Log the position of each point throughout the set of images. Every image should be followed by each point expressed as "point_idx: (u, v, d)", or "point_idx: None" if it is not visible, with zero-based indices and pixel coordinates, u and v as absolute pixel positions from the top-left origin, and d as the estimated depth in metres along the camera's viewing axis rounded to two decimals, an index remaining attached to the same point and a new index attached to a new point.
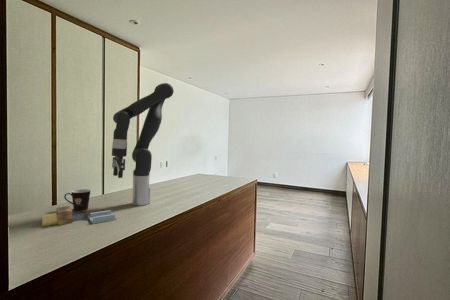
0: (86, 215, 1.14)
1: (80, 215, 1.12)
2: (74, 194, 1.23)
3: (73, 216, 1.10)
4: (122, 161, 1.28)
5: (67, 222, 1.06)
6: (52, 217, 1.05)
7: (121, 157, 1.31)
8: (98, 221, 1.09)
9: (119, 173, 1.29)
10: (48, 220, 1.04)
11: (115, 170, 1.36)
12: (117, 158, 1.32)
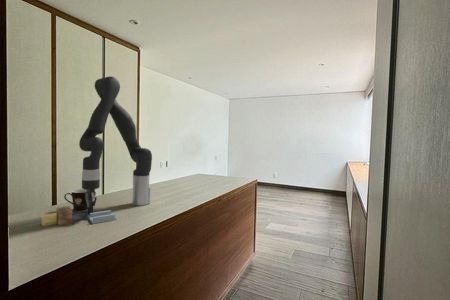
0: (86, 215, 1.14)
1: (80, 215, 1.12)
2: (74, 194, 1.23)
3: (73, 216, 1.10)
4: (92, 200, 1.11)
5: (67, 222, 1.06)
6: (52, 217, 1.05)
7: (93, 190, 1.13)
8: (98, 221, 1.09)
9: (89, 209, 1.15)
10: (48, 220, 1.04)
11: None
12: (88, 191, 1.14)
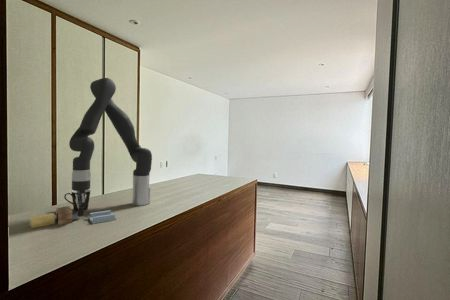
0: (76, 216, 1.12)
1: None
2: (74, 194, 1.23)
3: None
4: (82, 201, 1.09)
5: (67, 222, 1.06)
6: (41, 218, 1.02)
7: (83, 191, 1.10)
8: (98, 221, 1.09)
9: (79, 211, 1.12)
10: (37, 222, 1.01)
11: None
12: (78, 192, 1.11)
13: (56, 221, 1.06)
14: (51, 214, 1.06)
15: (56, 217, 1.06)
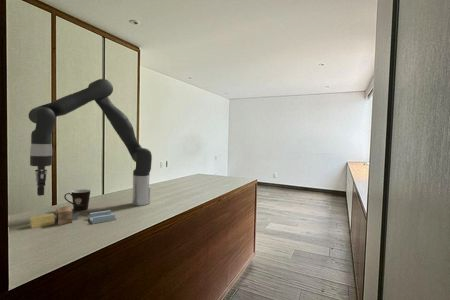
0: (76, 216, 1.12)
1: None
2: (74, 194, 1.23)
3: None
4: (41, 177, 0.98)
5: (67, 222, 1.06)
6: (41, 219, 1.02)
7: (42, 167, 1.00)
8: (98, 221, 1.09)
9: (38, 190, 1.01)
10: (37, 222, 1.01)
11: None
12: (38, 168, 1.01)
13: (56, 221, 1.06)
14: (51, 214, 1.06)
15: (56, 217, 1.06)
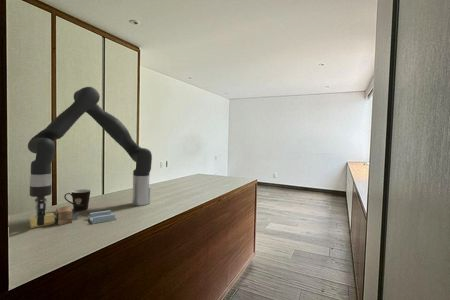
0: (75, 216, 1.12)
1: None
2: (74, 194, 1.23)
3: None
4: (41, 207, 0.98)
5: (67, 222, 1.06)
6: None
7: (41, 197, 1.00)
8: (98, 221, 1.09)
9: (38, 220, 1.01)
10: (37, 221, 1.01)
11: None
12: (37, 198, 1.02)
13: (56, 221, 1.06)
14: (51, 214, 1.06)
15: (56, 217, 1.06)
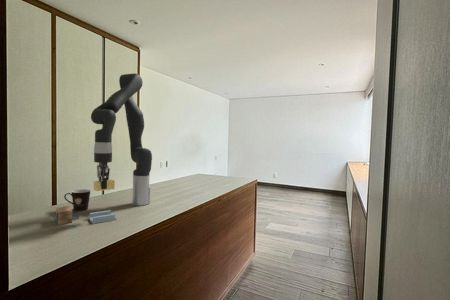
0: (76, 215, 1.13)
1: None
2: (74, 194, 1.23)
3: None
4: (106, 171, 1.08)
5: (67, 222, 1.06)
6: None
7: (105, 163, 1.10)
8: (98, 221, 1.09)
9: (102, 184, 1.11)
10: None
11: (101, 181, 1.15)
12: (101, 165, 1.12)
13: None
14: (111, 180, 1.16)
15: None
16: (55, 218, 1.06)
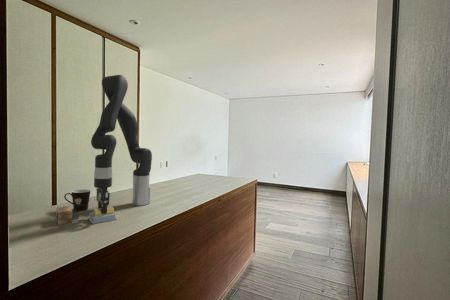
0: (77, 215, 1.13)
1: None
2: (74, 194, 1.23)
3: None
4: (106, 196, 1.08)
5: (67, 222, 1.06)
6: None
7: (105, 189, 1.11)
8: (98, 221, 1.09)
9: (103, 209, 1.10)
10: (100, 214, 1.11)
11: (100, 204, 1.16)
12: (101, 190, 1.12)
13: None
14: (110, 207, 1.16)
15: None
16: (55, 218, 1.07)
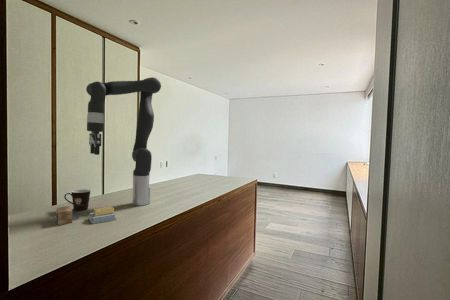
0: (77, 216, 1.12)
1: None
2: (74, 194, 1.23)
3: None
4: (98, 136, 1.16)
5: (67, 222, 1.06)
6: (103, 211, 1.12)
7: (97, 132, 1.19)
8: (98, 221, 1.09)
9: (95, 149, 1.18)
10: (100, 214, 1.11)
11: (92, 147, 1.25)
12: (93, 133, 1.20)
13: None
14: (110, 207, 1.16)
15: None
16: (55, 218, 1.07)
